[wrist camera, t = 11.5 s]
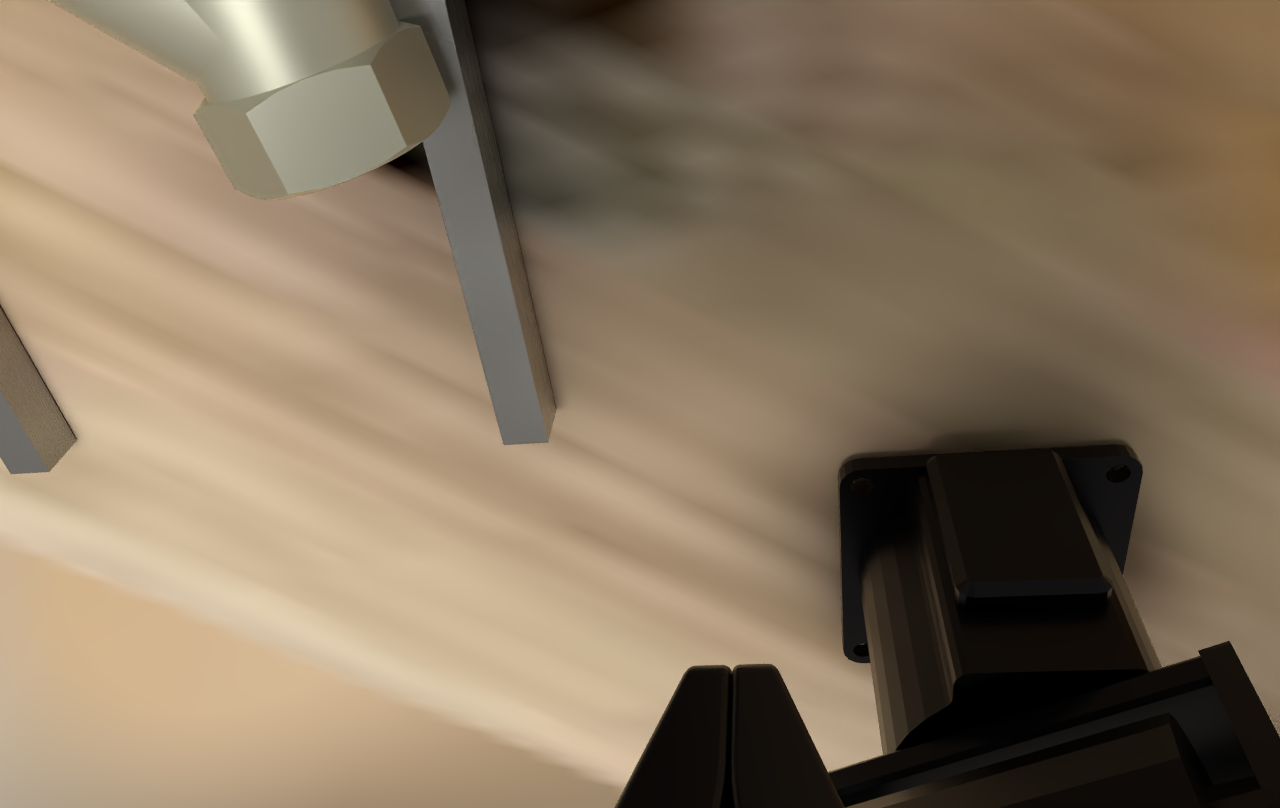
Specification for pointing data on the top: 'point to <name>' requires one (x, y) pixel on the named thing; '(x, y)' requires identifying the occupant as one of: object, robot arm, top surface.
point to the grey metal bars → (480, 242)
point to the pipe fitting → (289, 82)
